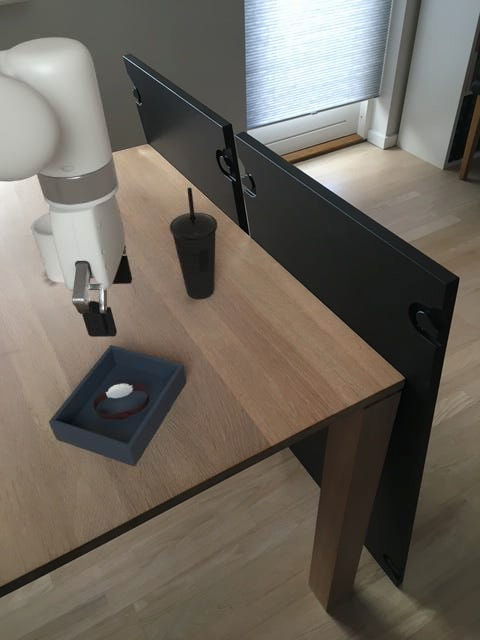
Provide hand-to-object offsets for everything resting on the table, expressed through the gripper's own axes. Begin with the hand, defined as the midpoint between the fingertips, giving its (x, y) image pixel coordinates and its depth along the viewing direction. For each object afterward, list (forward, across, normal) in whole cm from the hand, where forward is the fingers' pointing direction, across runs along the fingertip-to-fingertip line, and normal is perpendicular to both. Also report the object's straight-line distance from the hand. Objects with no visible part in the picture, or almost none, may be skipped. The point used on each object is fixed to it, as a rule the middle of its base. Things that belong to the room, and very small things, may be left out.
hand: (112, 307), depth 65 cm
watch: (+18, +2, -2) cm, 18 cm away
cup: (+18, -33, -17) cm, 41 cm away
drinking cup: (+18, -25, +7) cm, 32 cm away
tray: (+18, +2, -2) cm, 18 cm away
